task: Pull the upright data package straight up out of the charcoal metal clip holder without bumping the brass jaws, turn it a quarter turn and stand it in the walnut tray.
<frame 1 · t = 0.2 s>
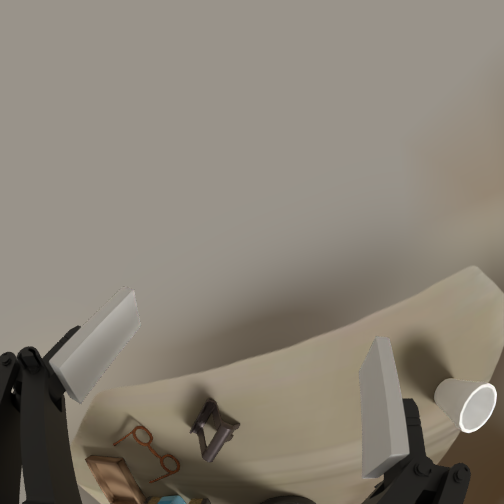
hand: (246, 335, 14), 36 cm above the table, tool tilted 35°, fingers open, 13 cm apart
glasses: (146, 454, 46), on the table
foam cup: (445, 391, 41), on the table
tray: (119, 481, 44), on the table
portable electronic device stand: (218, 422, 46), on the table
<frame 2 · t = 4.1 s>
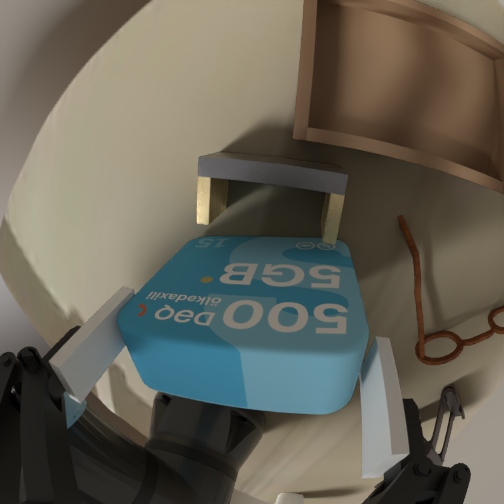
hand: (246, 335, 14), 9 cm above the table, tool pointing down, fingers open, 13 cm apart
glasses: (467, 264, 19), on the table
data package: (268, 261, 22), on the table
foam cup: (291, 494, 47), on the table
tray: (414, 83, 14), on the table
portable electronic device stand: (433, 408, 26), on the table
clip holder: (267, 262, 22), on the table
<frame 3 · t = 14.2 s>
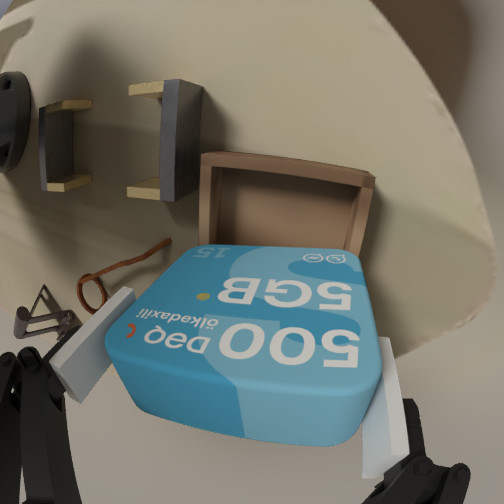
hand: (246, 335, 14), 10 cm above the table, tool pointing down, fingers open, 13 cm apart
glasses: (155, 303, 30), on the table
data package: (273, 272, 20), point 3 cm above the table, touching gripper, tray
tray: (278, 256, 23), on the table
portable electronic device stand: (56, 307, 36), on the table
clip holder: (119, 139, 22), on the table
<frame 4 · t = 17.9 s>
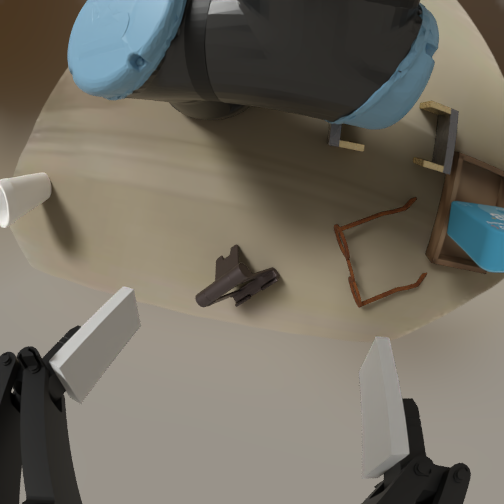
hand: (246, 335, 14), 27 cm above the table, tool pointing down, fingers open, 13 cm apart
glasses: (383, 248, 38), on the table
data package: (476, 218, 29), point 3 cm above the table, touching tray
foam cup: (44, 185, 46), on the table
tray: (468, 212, 31), on the table
portable electronic device stand: (243, 269, 44), on the table
clip holder: (390, 125, 30), on the table
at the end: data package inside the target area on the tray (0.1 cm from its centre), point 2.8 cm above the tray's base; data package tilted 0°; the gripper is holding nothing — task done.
